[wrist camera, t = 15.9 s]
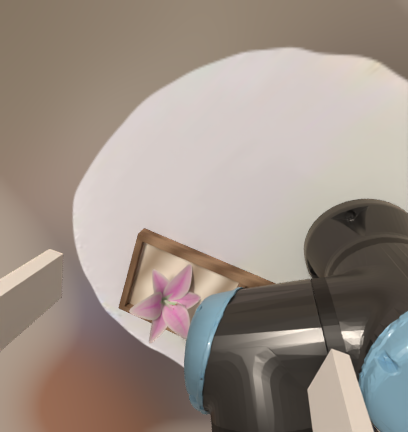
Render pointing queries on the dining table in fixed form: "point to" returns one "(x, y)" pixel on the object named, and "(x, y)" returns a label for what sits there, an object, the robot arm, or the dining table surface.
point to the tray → (174, 263)
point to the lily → (168, 304)
